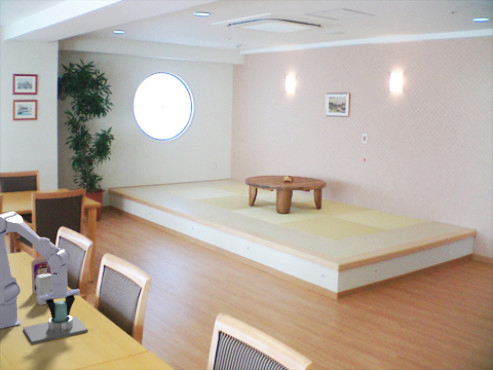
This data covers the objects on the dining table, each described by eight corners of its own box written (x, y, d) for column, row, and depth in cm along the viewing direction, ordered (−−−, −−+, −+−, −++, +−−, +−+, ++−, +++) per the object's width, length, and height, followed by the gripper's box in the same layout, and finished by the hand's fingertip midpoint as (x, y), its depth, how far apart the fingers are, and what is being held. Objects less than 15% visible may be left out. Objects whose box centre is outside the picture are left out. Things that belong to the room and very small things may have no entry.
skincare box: (40, 305, 223) (39, 278, 222) (36, 302, 227) (35, 275, 225) (54, 301, 228) (53, 275, 226) (50, 298, 231) (49, 272, 229)
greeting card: (33, 294, 235) (32, 262, 233) (24, 290, 240) (23, 258, 237) (56, 287, 244) (55, 256, 242) (47, 284, 249) (46, 253, 246)
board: (32, 344, 188) (32, 341, 188) (23, 329, 200) (23, 327, 200) (87, 331, 200) (87, 329, 200) (76, 318, 211) (76, 316, 211)
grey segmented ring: (52, 333, 195) (51, 325, 194) (46, 325, 202) (45, 317, 201) (75, 328, 200) (75, 320, 199) (68, 320, 207) (68, 313, 206)
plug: (55, 326, 197) (55, 306, 196) (52, 322, 201) (51, 302, 200) (69, 324, 200) (68, 304, 199) (65, 319, 204) (64, 299, 203)
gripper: (42, 288, 191) (43, 324, 193) (81, 281, 199) (82, 315, 201) (37, 282, 196) (38, 317, 198) (76, 276, 204) (77, 309, 207)
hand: (60, 316), depth 200 cm, fingers closed on plug, 5 cm apart
